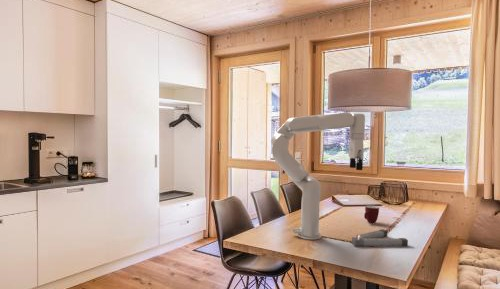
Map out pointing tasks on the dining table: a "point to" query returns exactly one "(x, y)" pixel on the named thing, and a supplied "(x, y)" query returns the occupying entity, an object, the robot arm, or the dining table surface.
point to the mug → (371, 213)
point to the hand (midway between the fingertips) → (355, 168)
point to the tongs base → (379, 242)
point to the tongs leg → (374, 234)
